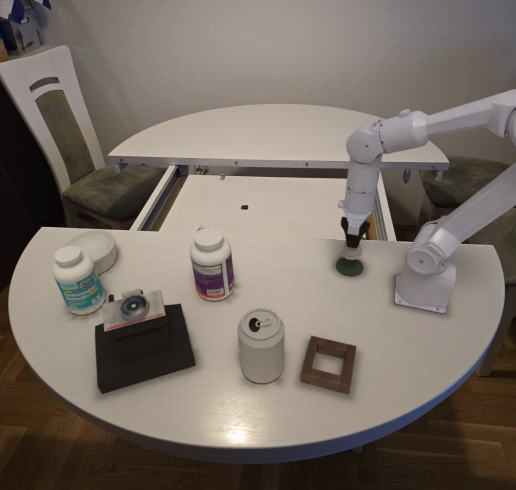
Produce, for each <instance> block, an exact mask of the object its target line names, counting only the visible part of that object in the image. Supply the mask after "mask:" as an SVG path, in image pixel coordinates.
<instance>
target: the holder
mask: <svg viewBox="0 0 516 490" xmlns="http://www.w3.org/2000/svg"><path fill="white" fill-rule="evenodd" d="M356 353H357V345H355V344H350V343H345V342H340V341H337V340H333V339H328V338H324V337H319V336H315V335H310V340H309V343H308V346H307V350H306V354H305V358H304V360H303V361H304V362H303V366H302V369H301V372H300V382H301V383H304V384H308V385H310V386H311V385H312V386H315V387H318V388H323V389H326V390H330V391H333V392H338V393H341V394H345V395H349V394H350V391H351V385H352V379H353V378H352V377H353V372H354V365H355V359H356ZM318 354H322V355H325V356H330V357H334V358H338V359H341V360H342V359H343V360H344V363H343V370H342V375H340V374H336V373H332V372H328V371H324V370H321V369H317V368H314V367H315V363H316V358H317V355H318Z"/></svg>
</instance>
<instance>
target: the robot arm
mask: <svg viewBox="0 0 516 490" xmlns="http://www.w3.org/2000/svg"><path fill="white" fill-rule="evenodd" d="M483 128H485V129H487V130H489V131H490V132H491V133H493V134H495V135H496V136H498V137H499V138H502V139H503V138H505V135H506V134H507V132H508V133H509V134H508V135H509V136H510V139H511V141H512V142H513V144H514V146H515V147H516V88H513V89H509V90H507V91H504V92H500V93H497V94H494V95H491V96H488V97H487V96H486V97H485V98H480V99H478V100H474V101H471V102H468V103H465V104H461V105H458V106H454V107H452V108H448V109H444V110H442V111H439V112H435V113H433V114H426V113H425V112H423V111H421V110H415V111H411V110H410V108H407V109H406V108H405V109H403V110H401V111H399V114H398V115H396V116H393V117H388V118H385V119H381V118H380V117H378V118H375V119H374V120H369V121H367V122H364V123H362V125H360V127H358V128H357V129H355V131H354V132H352V133H350V135H349V137H348V138H347V140H346V143H345V149H346V152H347V154H348V156H349V162H348V167H347V176H346V177H347V178H346V185H345V192H344V199H339V200H338V202H337V208H338V209H342V210H343V213H344V216H341V219H340V227H341V228H342V230H343V233H344V236H345V237H344V238H345V242H346V245H347V247H350V248H355V249H357V247H358V246H359V244H361V241H362V239H363V237H364V235H365V234H366V233H367V232H368V231H369V230H370V228H371V222H368V219H369V218H370V217H371V216H372V215H373V213H374V212H375V201H376V195H377V190H378V185H379V179H380V173H381V169H382V168H381V167H382V159H383V155H391V154H394V153H398V152H402V151H407V150H412V149H417V148H422V147H425V146H426V145H427V144H428V142H429V141H430V139H431V137H432V138H433V137H437V136H442V135H443V136H444V135H449V134H455V133H460V132H465V131H470V130H477V129H483ZM515 206H516V161H515V162H513V164H512V165H510V166H509V167H508V168H506V169H505V170H504V171H502V172H501V173H500V174H499V175H497V176H496V177H495V178H493V179H492V180H491V181H490V182H488V183H487V184H486V185H485V186H483V187H482V188H481V189H480V190H478V191H477V192H476V193H474V194H473V195H472V196H471V197H470V198H469V199H467V200H466V201H464V202H463V203H461V205H459V206H458V207H457V208H455V209H454V210H453V211H451V212H450V213H449V214H448V215H442V216H440V218H438V219H436V220H433V221H427V222H426V223H424V224H423V225H421V227H420V228H419V232H418V234H417V235H416V237H415V238H414V240H413V241H412V243H411V244H410V246H409V247H408V248H407V249H406V250H405V252H404V262H403V266H402V270H401V274H400V275H397V276H396V277H395V290H394V291H395V292H394V304H396V305H398V306H399V305H400V306H404V307H409V308H415V309H419V310H424V311H429V312H433V313H439V314H446V311H447V306H448V304H449V301H450V298H451V297H452V293H453V291H454V288H455V284H456V280H457V279H456V278H457V266H456V264H455V263H452V262H450V261H447V259H449V257H451V255H452V254H453V253H454V252H455V251H456V250H457V248H459V246H460V245H461V244H462V243H463V242H465V241H466V240H467V239H470V238H471V237H472V236H473V235H475V234H476V233H478V232H479V231H481V230H483V228H485V227H486V226H488V225H489V224H491V223H493V222H494V221H495V220H496V219H498V218H499V217H502V215H505V213H507V212H508V211H510V210H511V209H512V208H514V207H515Z"/></svg>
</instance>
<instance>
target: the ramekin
mask: <svg viewBox="0 0 516 490" xmlns="http://www.w3.org/2000/svg"><path fill="white" fill-rule="evenodd" d="M66 246H77V247H79V248H80V249H81V252H82V253H84V254H87V255H89V256H90V257H91V258H92V260H93V262H94V265H95V268H96V270H97V273H98V275H100V274H103V273H104V272H106V271H108V270H109V269H110V268H111V267H112V266H113V265H114V264H115V263H116V259H117V248H116V240H115V237H114V235H113V233H111V232H109V231H106V230H101V229H94V230H93V229H92V230H88V231H84V232H81V233H79V234H76V235H75V236H73V237H72V238H71V239H69V240H68V241H67V242H66V244H65V245H64V247H66Z"/></svg>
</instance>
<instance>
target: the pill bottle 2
mask: <svg viewBox="0 0 516 490" xmlns="http://www.w3.org/2000/svg"><path fill="white" fill-rule="evenodd" d="M189 256H190V262H191V267H192V272H193V278H194V283H195V289H196V292H197V294H198V296H200V297H201V298H203V299H204V300H206V301H211V302H217V301H222V300H224V299H226V298H228V297H229V296H230V295H231V294H232V293H233V292H234V289H235V286H236V285H235V274H234V264H233V254H232V246H231V244H230V242H229V241H228V240H227V239H226V238H225V237H224V233H223V231H222V230H221V229H219V228H217V227H211V226H210V227H204V228H200V229H199V230H198V231H196V232H195V234H194V235H193V243H192V244H191V246H190V249H189Z"/></svg>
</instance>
